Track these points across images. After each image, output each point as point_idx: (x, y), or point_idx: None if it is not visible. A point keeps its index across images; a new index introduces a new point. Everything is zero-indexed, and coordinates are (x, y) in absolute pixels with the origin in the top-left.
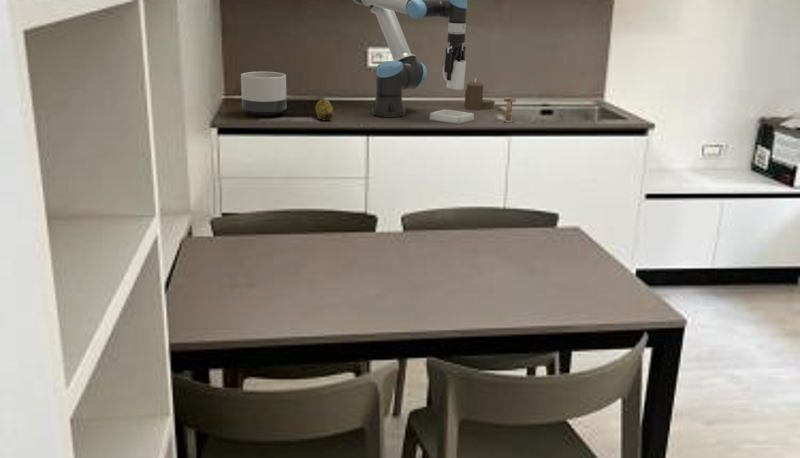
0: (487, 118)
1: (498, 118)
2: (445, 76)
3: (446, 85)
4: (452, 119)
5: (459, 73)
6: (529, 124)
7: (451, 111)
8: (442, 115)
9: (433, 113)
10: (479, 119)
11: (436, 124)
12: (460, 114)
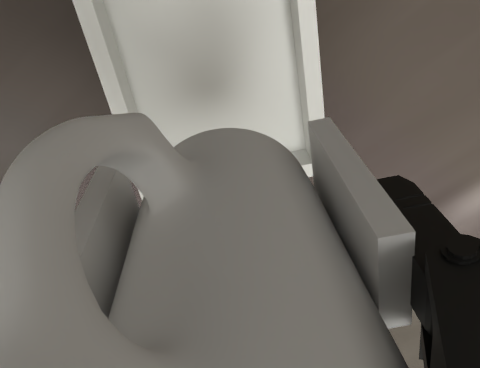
0: (425, 165)
1: (465, 197)
2: (107, 165)
3: (94, 174)
4: None
5: None
6: (418, 341)
7: (297, 5)
8: (104, 87)
9: (77, 2)
10: (364, 159)
11: (19, 113)
12: (302, 83)
